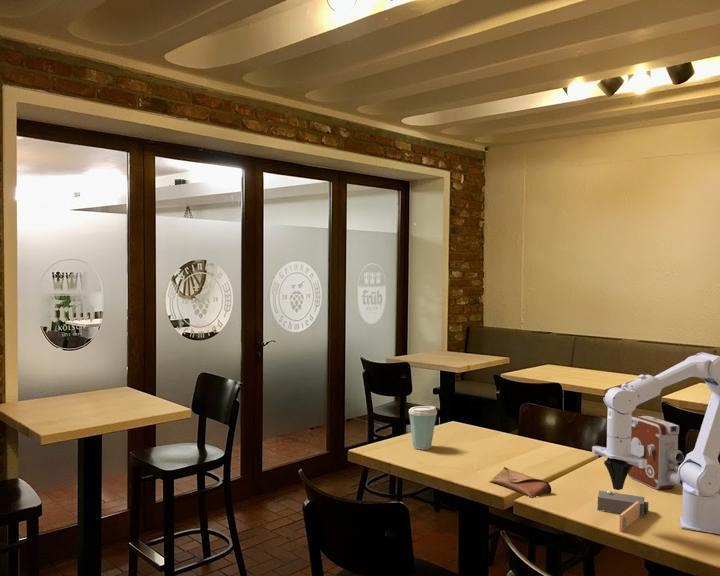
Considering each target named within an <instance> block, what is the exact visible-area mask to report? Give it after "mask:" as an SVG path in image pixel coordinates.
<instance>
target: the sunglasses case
mask: <svg viewBox="0 0 720 576" xmlns="http://www.w3.org/2000/svg"><path fill="white" fill-rule="evenodd" d="M488 482H489V483H490V484H493V485H497V486H500V487H503V488H505V489H508V490H511V491H513V492H515V493H516V492H517V493H519V494H521V495H524V496H526V497H528V496H529V497H528V498H531V499H535V498H537V497H536V496H539V497H542V496H545V494H546V495H548V493H549V494H550V493H552V487H551V484H550V483H549V482H547V481H546V480H543V479H540V478H536V477H532V476H530V475H526V474H524V473H522V472H518V471H515V470H512V469H510V468H508V467H505V466H504V467H503V469H501V470H500V471H499V472H498V473H497V474H496V475H495V476H494V477H493V478H491V480H488ZM541 495H542V496H541ZM534 497H535V498H534Z"/></svg>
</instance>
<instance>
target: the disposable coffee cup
mask: <svg viewBox="0 0 720 576" xmlns="http://www.w3.org/2000/svg"><path fill="white" fill-rule="evenodd" d="M408 415H409V421H410V431H411V440H412V446H413V448H414V449H417V450H429V449H431V448H432V443H433V436H434V432H435V425H436V421H437V415H438V411H437V409H436V406H434V405H433V406H432V405H418V406H413V407H410V408H409V409H408Z"/></svg>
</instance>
